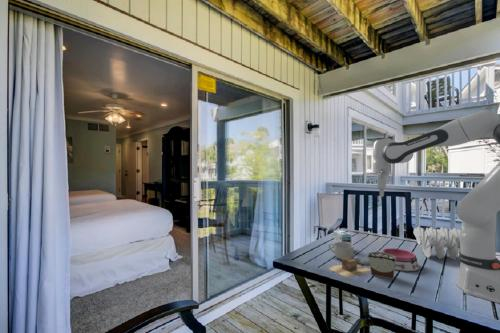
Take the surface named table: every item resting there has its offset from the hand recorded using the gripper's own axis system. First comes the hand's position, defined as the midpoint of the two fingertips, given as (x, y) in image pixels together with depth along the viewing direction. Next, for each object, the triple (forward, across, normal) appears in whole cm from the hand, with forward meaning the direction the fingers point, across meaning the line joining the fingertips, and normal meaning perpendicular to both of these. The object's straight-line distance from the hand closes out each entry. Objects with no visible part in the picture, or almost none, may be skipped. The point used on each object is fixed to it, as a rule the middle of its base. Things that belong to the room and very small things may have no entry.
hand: (381, 195), depth 130 cm
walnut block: (+37, -13, +14) cm, 42 cm away
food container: (+37, -12, -1) cm, 39 cm away
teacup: (+38, +2, +21) cm, 43 cm away
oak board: (+37, -13, +14) cm, 42 cm away
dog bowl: (+38, +5, -8) cm, 39 cm away
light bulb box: (+38, +19, +23) cm, 48 cm away
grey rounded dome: (+37, +1, +8) cm, 38 cm away
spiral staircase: (+37, +28, -30) cm, 55 cm away
